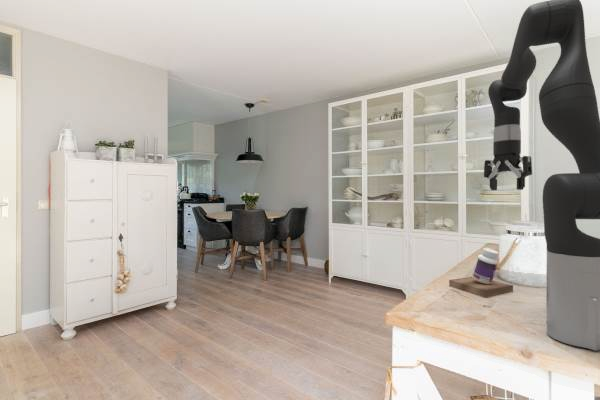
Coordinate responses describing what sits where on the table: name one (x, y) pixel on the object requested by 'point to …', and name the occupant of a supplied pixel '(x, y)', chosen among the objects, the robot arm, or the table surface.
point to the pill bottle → (485, 266)
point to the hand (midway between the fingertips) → (506, 189)
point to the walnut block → (480, 287)
